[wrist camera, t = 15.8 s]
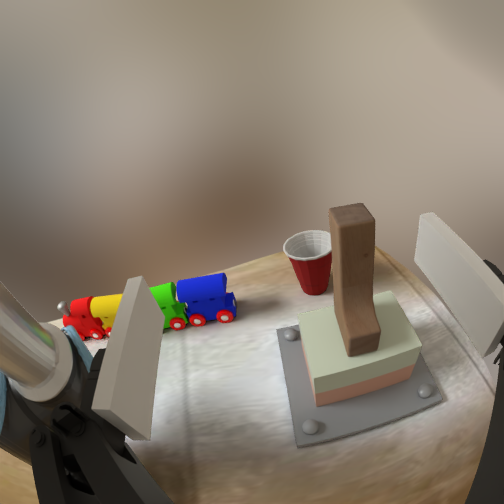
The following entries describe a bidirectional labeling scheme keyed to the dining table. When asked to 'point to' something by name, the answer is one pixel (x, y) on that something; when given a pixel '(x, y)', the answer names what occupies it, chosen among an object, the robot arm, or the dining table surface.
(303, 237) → the plastic cup
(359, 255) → the wooden block
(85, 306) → the toy train
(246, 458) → the dining table surface
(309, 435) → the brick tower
